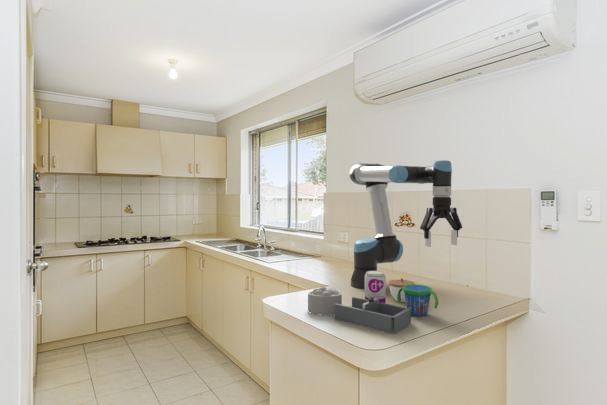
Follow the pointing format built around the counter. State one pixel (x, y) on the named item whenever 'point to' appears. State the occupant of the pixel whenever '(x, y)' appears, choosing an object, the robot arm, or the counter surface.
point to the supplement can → (375, 285)
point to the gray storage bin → (375, 316)
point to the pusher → (371, 305)
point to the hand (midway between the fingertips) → (441, 245)
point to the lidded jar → (397, 285)
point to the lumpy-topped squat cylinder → (323, 300)
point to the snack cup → (417, 298)
